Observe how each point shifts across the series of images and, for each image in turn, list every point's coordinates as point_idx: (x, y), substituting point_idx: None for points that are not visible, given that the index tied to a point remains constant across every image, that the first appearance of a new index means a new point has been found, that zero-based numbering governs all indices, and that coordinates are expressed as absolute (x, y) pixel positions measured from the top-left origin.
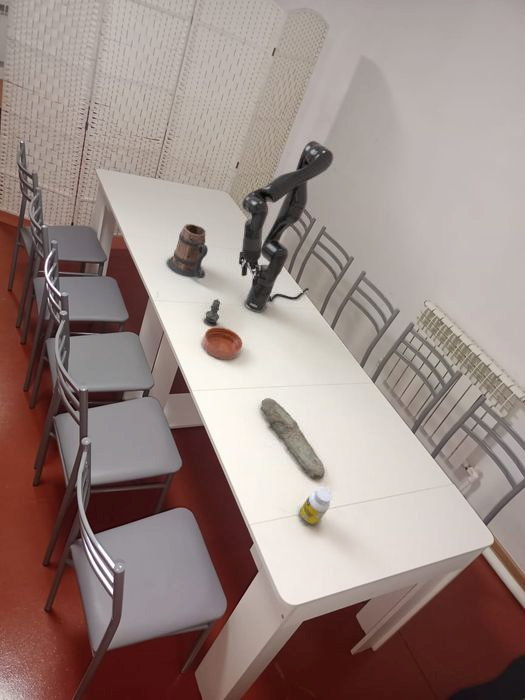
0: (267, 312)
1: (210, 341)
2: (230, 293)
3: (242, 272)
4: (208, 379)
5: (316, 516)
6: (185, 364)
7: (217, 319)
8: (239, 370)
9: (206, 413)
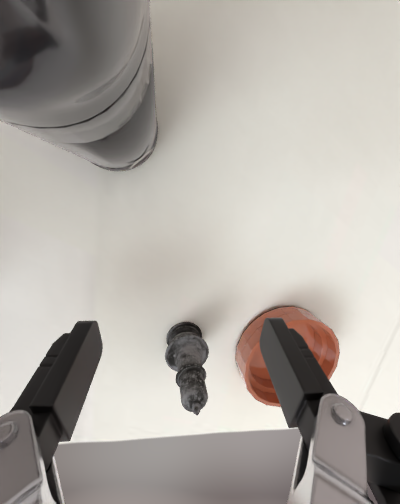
0: (161, 88)
1: (258, 367)
2: (18, 191)
3: (87, 388)
4: None
5: None
6: None
7: (207, 346)
8: (351, 334)
9: None
